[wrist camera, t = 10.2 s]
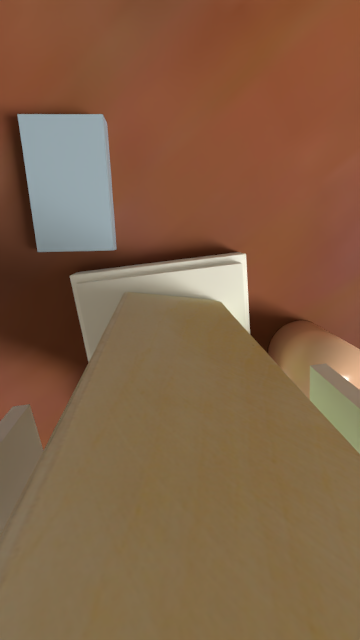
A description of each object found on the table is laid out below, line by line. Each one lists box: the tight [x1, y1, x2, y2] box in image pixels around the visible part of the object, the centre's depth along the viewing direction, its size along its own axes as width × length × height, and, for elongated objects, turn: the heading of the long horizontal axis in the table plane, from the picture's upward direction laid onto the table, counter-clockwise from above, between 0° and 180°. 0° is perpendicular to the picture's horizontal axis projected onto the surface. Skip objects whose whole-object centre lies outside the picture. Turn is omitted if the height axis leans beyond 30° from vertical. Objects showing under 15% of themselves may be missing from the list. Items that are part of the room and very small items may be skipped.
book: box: [17, 114, 117, 252], centre depth 20 cm, size 8×5×2 cm, turn 1°
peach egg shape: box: [268, 320, 360, 400], centre depth 22 cm, size 5×5×6 cm
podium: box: [70, 252, 250, 362], centre depth 23 cm, size 12×12×3 cm
